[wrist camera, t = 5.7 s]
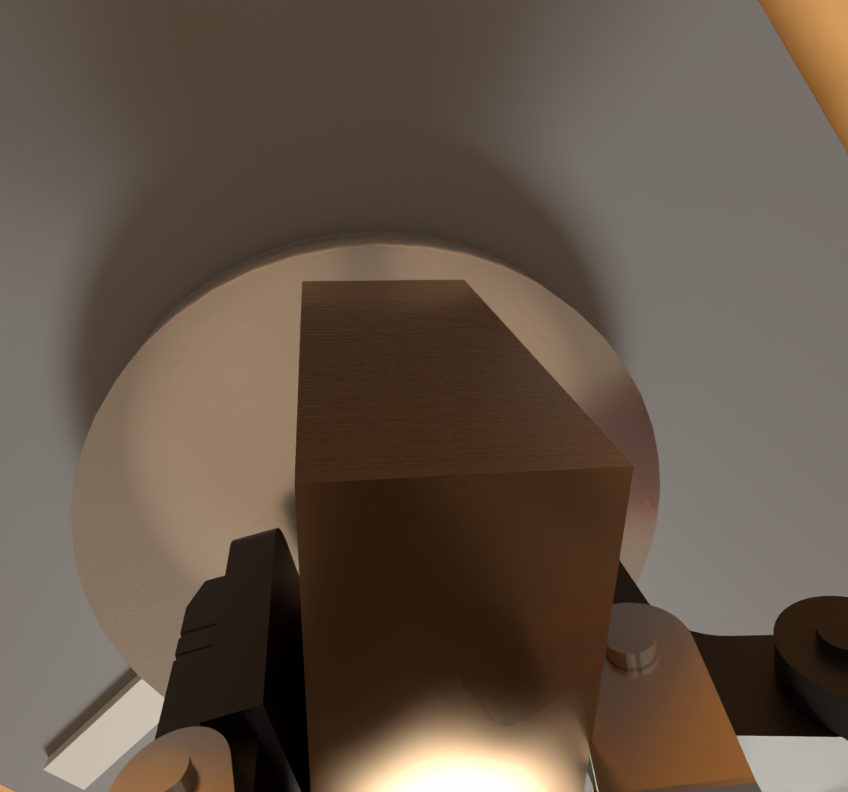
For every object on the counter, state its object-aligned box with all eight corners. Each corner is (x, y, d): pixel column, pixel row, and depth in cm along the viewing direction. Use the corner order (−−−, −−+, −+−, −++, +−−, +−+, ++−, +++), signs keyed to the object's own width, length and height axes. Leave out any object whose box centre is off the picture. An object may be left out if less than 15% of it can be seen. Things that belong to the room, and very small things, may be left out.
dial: (51, 229, 11) (-398, 442, 4) (660, 229, 12) (1108, 384, 5) (161, 864, 16) (54, 1417, 9) (574, 811, 18) (741, 1255, 11)
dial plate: (-419, 470, 13) (-555, 538, 11) (371, -501, 10) (388, -662, 8) (364, 887, 21) (370, 973, 19) (951, 422, 18) (1037, 464, 16)
